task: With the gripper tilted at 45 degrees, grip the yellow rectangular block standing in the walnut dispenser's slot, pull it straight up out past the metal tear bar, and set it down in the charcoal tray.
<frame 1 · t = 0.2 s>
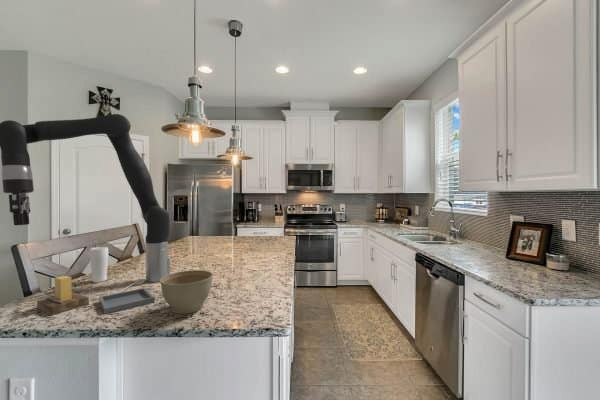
hand: (22, 224, 97), 28 cm above the counter, tool pointing down, fingers open, 8 cm apart
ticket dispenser: (63, 306, 95), on the counter
drinking glass: (99, 281, 125), on the counter
planter bowl: (187, 309, 92), on the counter
tray: (126, 302, 98), on the counter
spoon: (127, 290, 113), on the counter
yellow rectangular block: (63, 306, 95), resting in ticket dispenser
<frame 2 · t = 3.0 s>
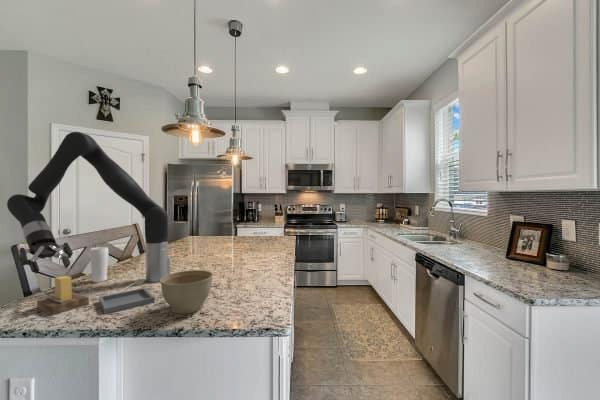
hand: (53, 269, 99), 12 cm above the counter, tool tilted 45°, fingers open, 8 cm apart
nothing on the counter moved.
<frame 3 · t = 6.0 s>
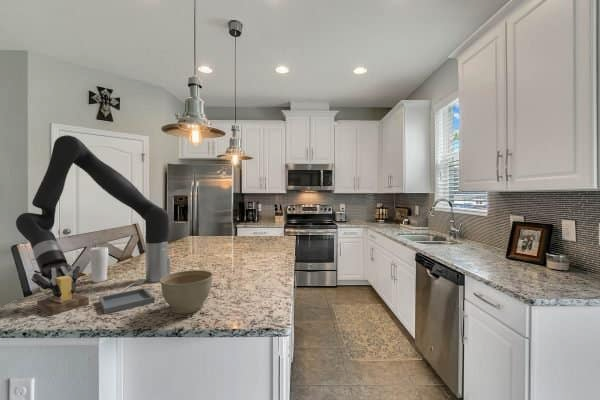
hand: (66, 294, 94), 4 cm above the counter, tool tilted 45°, fingers closed on yellow rectangular block, 3 cm apart
yellow rectangular block: (63, 306, 95), resting in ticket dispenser, touching gripper
everything else where it was.
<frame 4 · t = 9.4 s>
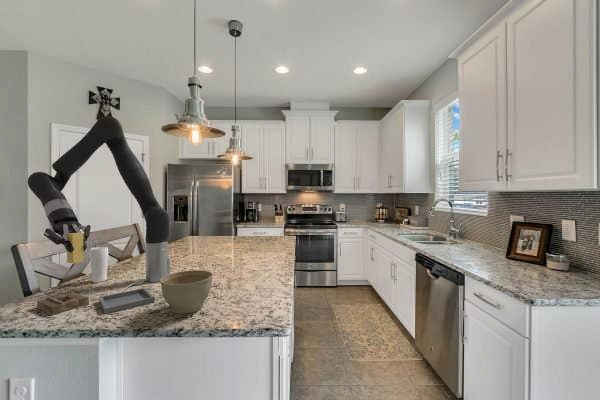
hand: (78, 249, 95), 20 cm above the counter, tool tilted 45°, fingers closed on yellow rectangular block, 3 cm apart
yellow rectangular block: (75, 262, 96), point 15 cm above the counter, touching gripper
everything else where it was.
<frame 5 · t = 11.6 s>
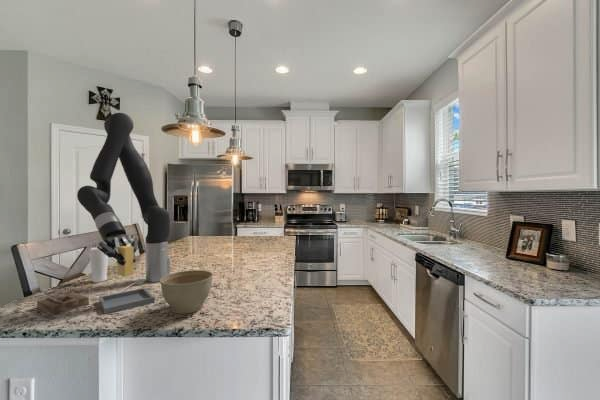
hand: (129, 262, 97), 14 cm above the counter, tool tilted 45°, fingers closed on yellow rectangular block, 3 cm apart
yellow rectangular block: (125, 274, 98), point 10 cm above the counter, touching gripper
everything else where it was.
when the fingers open (6 cm above the counter, at t = 13.2 s): yellow rectangular block drops 2 cm, resting on tray.
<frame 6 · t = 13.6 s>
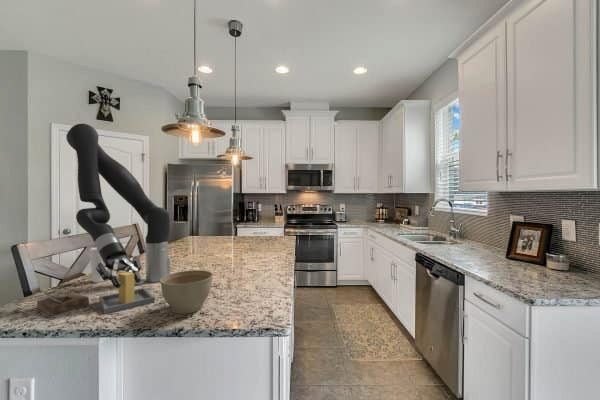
hand: (129, 283, 97), 7 cm above the counter, tool tilted 45°, fingers open, 6 cm apart
yellow rectangular block: (126, 301, 98), resting on tray
everything else where it was.
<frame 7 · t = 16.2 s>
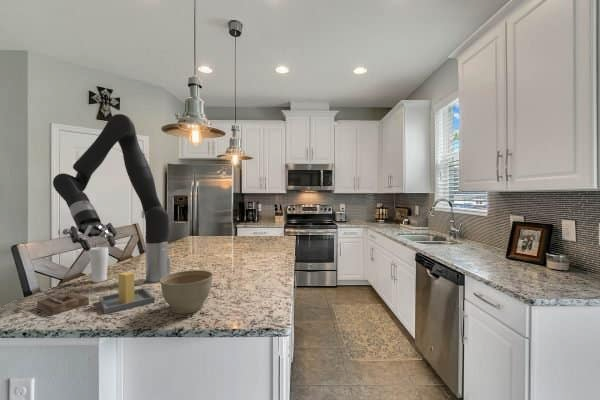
hand: (101, 247, 103), 19 cm above the counter, tool tilted 40°, fingers open, 8 cm apart
nothing on the counter moved.
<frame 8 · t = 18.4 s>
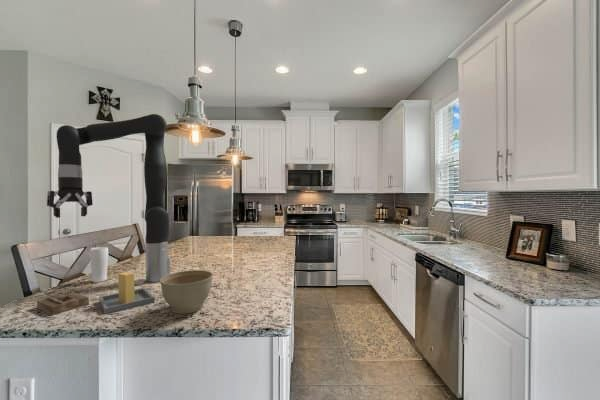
hand: (71, 216, 110), 30 cm above the counter, tool pointing down, fingers open, 8 cm apart
nothing on the counter moved.
at the end: yellow rectangular block inside the target area on the tray (0.1 cm from its centre), point 0.3 cm above the tray's base; the gripper is holding nothing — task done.
